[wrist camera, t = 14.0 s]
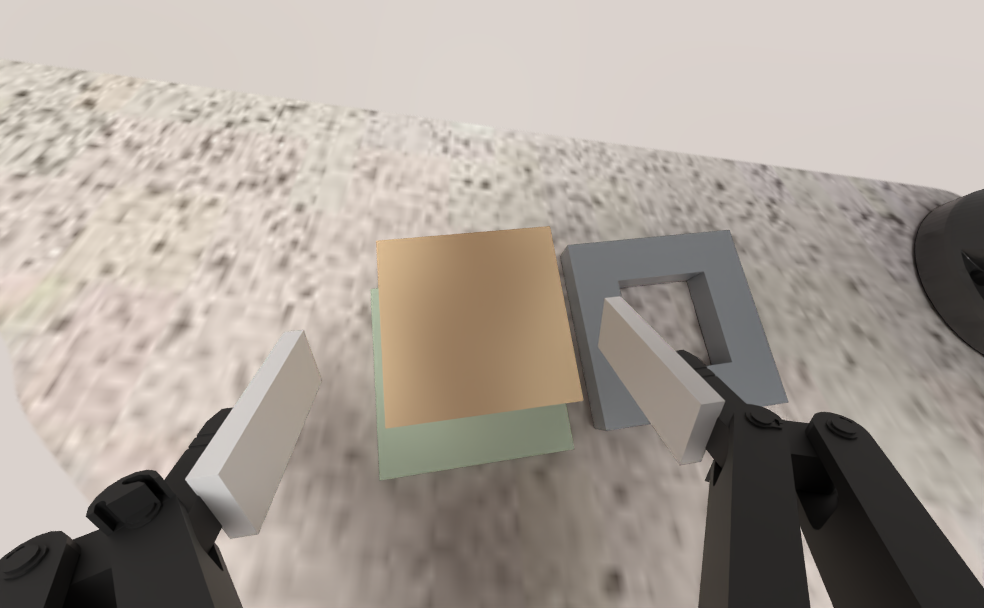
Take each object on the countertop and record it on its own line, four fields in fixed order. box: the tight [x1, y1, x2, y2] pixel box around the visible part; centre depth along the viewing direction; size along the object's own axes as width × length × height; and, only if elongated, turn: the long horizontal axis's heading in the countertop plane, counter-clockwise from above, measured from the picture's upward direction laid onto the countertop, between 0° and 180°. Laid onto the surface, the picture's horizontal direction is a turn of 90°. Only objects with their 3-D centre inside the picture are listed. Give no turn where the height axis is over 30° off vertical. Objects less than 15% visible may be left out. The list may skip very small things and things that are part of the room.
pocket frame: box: [560, 230, 788, 431], centre depth 25 cm, size 12×12×2 cm
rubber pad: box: [371, 288, 574, 481], centre depth 23 cm, size 12×12×1 cm
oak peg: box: [376, 226, 584, 429], centre depth 16 cm, size 5×5×14 cm
